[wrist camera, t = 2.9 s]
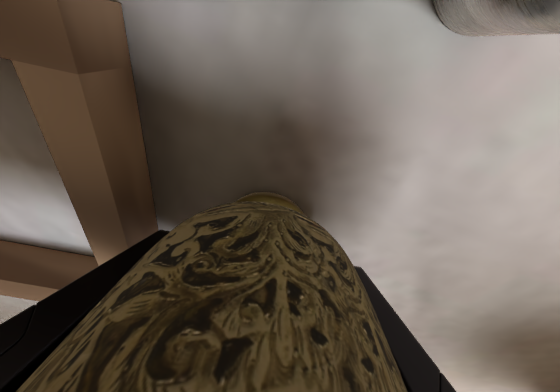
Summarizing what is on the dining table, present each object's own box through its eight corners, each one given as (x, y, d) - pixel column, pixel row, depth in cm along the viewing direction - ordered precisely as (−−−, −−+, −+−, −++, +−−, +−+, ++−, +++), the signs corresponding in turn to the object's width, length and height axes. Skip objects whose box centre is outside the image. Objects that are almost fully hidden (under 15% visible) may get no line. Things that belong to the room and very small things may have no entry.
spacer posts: (320, 343, 16) (323, 398, 14) (165, 317, 16) (140, 369, 13) (639, -139, 4) (1113, -390, 2) (39, -316, 4) (-475, -1017, 1)
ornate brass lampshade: (161, 231, 11) (-53, 525, 4) (226, 93, 7) (-665, 726, 1) (289, 290, 13) (279, 554, 6) (393, 205, 9) (645, 644, 2)
